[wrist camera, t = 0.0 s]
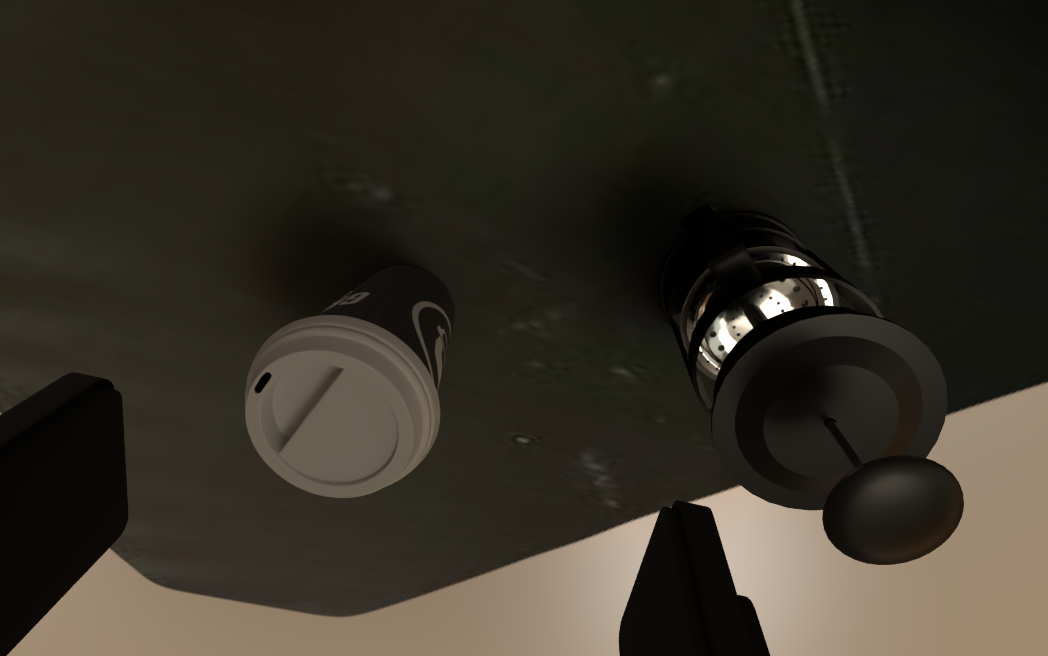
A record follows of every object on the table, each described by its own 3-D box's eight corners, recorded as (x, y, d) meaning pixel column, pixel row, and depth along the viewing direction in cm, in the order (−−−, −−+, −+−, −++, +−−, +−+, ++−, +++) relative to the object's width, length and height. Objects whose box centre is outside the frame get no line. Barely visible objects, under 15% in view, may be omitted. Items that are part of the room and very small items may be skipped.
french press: (839, 312, 41) (1114, 578, 20) (706, 382, 44) (827, 681, 23) (754, 156, 38) (977, 276, 17) (617, 240, 41) (660, 437, 20)
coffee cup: (428, 216, 41) (353, 296, 27) (503, 338, 44) (470, 467, 30) (309, 283, 43) (185, 388, 30) (388, 395, 46) (308, 538, 32)
